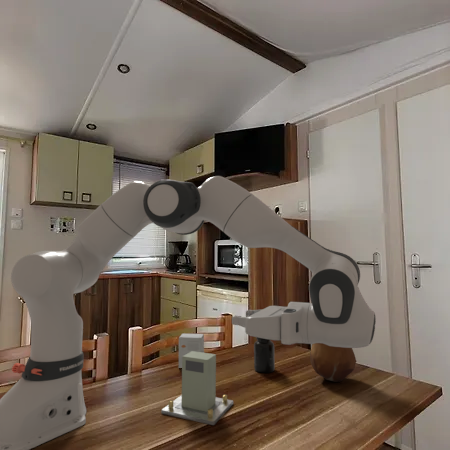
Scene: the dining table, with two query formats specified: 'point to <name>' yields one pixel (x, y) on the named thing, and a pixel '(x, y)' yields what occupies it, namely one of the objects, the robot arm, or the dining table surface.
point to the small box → (190, 345)
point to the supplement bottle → (264, 356)
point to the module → (198, 380)
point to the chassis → (198, 415)
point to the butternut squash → (332, 361)
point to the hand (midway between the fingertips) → (240, 316)
